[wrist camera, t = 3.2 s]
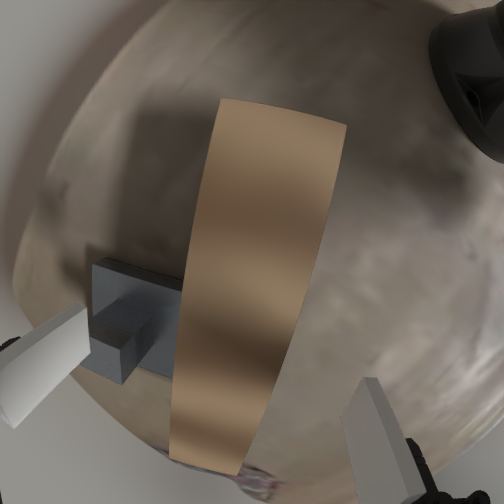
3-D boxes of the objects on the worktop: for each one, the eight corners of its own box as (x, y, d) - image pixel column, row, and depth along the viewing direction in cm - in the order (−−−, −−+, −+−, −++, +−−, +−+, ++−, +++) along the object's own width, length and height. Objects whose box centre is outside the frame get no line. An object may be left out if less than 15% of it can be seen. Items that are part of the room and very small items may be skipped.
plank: (236, 121, 13) (221, 98, 9) (328, 142, 13) (347, 124, 9) (183, 423, 18) (169, 457, 14) (243, 438, 18) (236, 475, 14)
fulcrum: (106, 257, 20) (49, 283, 13) (193, 283, 20) (155, 326, 13) (105, 337, 22) (63, 376, 15) (182, 366, 22) (153, 420, 15)
